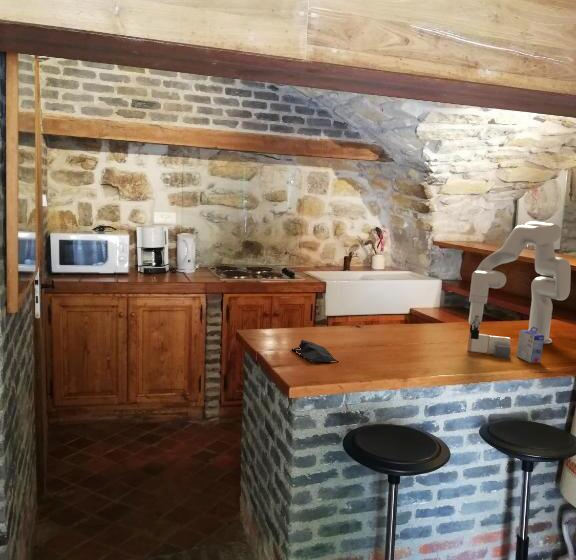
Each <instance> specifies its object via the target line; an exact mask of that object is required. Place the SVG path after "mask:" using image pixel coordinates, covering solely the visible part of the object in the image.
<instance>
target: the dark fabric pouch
mask: <svg viewBox="0 0 576 560" xmlns="http://www.w3.org/2000/svg"><path fill="white" fill-rule="evenodd" d="M299 347H300V348H301V350H296V349H300V348H299ZM293 349H294V350H295V351H297V352H298V353H301V354H300V355H301V356H300V357H302V356H303V357H305V358H306V359H308V360H309V361H311V362H310V363H312V362H331V361H337V360H338V359H336V358H335V357H334V356H333V355H332V354H331V352H330V351H329V350H328V349H327V348H325V347H324V346H322V345H319V344H317V343H314V342H312V341H308V340H304V339H302V340H300V344H299V345H298V347H295V348H293ZM329 352H330V353H329ZM330 354H331V355H332V356H333V357H334V358H335V359H334V358H333V357H332V356H331V355H330ZM303 357H302V358H303ZM306 359H305V360H306ZM309 361H308V362H309Z"/></svg>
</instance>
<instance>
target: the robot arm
mask: <svg viewBox="0 0 576 560" xmlns="http://www.w3.org/2000/svg"><path fill="white" fill-rule="evenodd" d="M561 235H562V229H561V226H560V225H558V224H557V223H551V222H543V221H528V222H526V223H525V224H521V225H516V226H515V227H513V229H512V231H511V232H510V234H509V235H508V237H507V238H506V240H505V241H504V243H503V244H502V245H501V247H500V248H499V249H497V250H496V251H494V252H493V253H491V254H490V255H487V257H485V258H484V259H483V260H482V261H480V263H479V265H478V267H477V268H476V270H474V271H473V272H472V274H471V282H470V291H469V298H468V299H469V301H468V302H469V303H470V306H469V316H468V323H469V327H470V328H469V333H471V339H478V338H479V334H480V326H481V325H482V320H483V314H484V305H485V304H487V303H488V296H489V288H492V289H501V288H503V287H504V286H505V284H506V283H507V276H506V275H505V273H503V272H501V271H497V270H493V269H494V268H496V267H498V266H499V265H502V264H508V263H511V262H514V261H517V260H518V258H519V257H520V255H521V253H522V252H523V250H524V249H525V248H526V246H527V245H529V246H534V271H535V272H536V273H537V274H539V275H541V276H537V277H535V278H534V279H533V280H532V281H531V287H530V288H531V291H530V292H531V306H530V312H529V321H528V322H529V323H528V329H527V330H530V329H531V328H532V327H536V328H538V330H537V332H536V333H539V334H541V335H544V342H543V345H544V344H545V345H547V344H548V345H549V344H551V343H552V342H553V340H552V338H550V332H551V331H550V330H551V322H552V313H553V302H552V300H557V301H564V300H567V298H568V297H569V295H570V293H571V272H572V271H571V270H572V269H571V264H570V261H569V260H568V259H566V258H564V257H560V256H556V254H555V243H556V242H558V240H559V239H560V238H561ZM532 330H534V331H536V329H532Z"/></svg>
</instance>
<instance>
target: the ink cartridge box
mask: <svg viewBox="0 0 576 560" xmlns="http://www.w3.org/2000/svg"><path fill="white" fill-rule="evenodd" d="M532 329H536V331H534V330H532ZM537 330H538V328H536V327H532V328H531V329H530V330H528V329H520V330H519V334H518V335H519V336H518V341H517V342H518V343H517V348H516V354H515V355H516V356H515V357H517V358H519V359H521V360H524V361H526V362H528V363H530V364H533V363H534V364H535V363H536V364H541V363H542V355H543V354H542V353H543V347H544V344H543V342H544V335H541V334H539V333H536V332H537Z"/></svg>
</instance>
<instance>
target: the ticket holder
mask: <svg viewBox="0 0 576 560" xmlns="http://www.w3.org/2000/svg"><path fill="white" fill-rule="evenodd" d="M511 340H512V339H511V337H507V336H498V335H497V336H496V335H488V342H487V351H486V354H489V355H494V357H495V358H500V359H501V358H502V359H509V360H510V359H511V350H512V348H511Z"/></svg>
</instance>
